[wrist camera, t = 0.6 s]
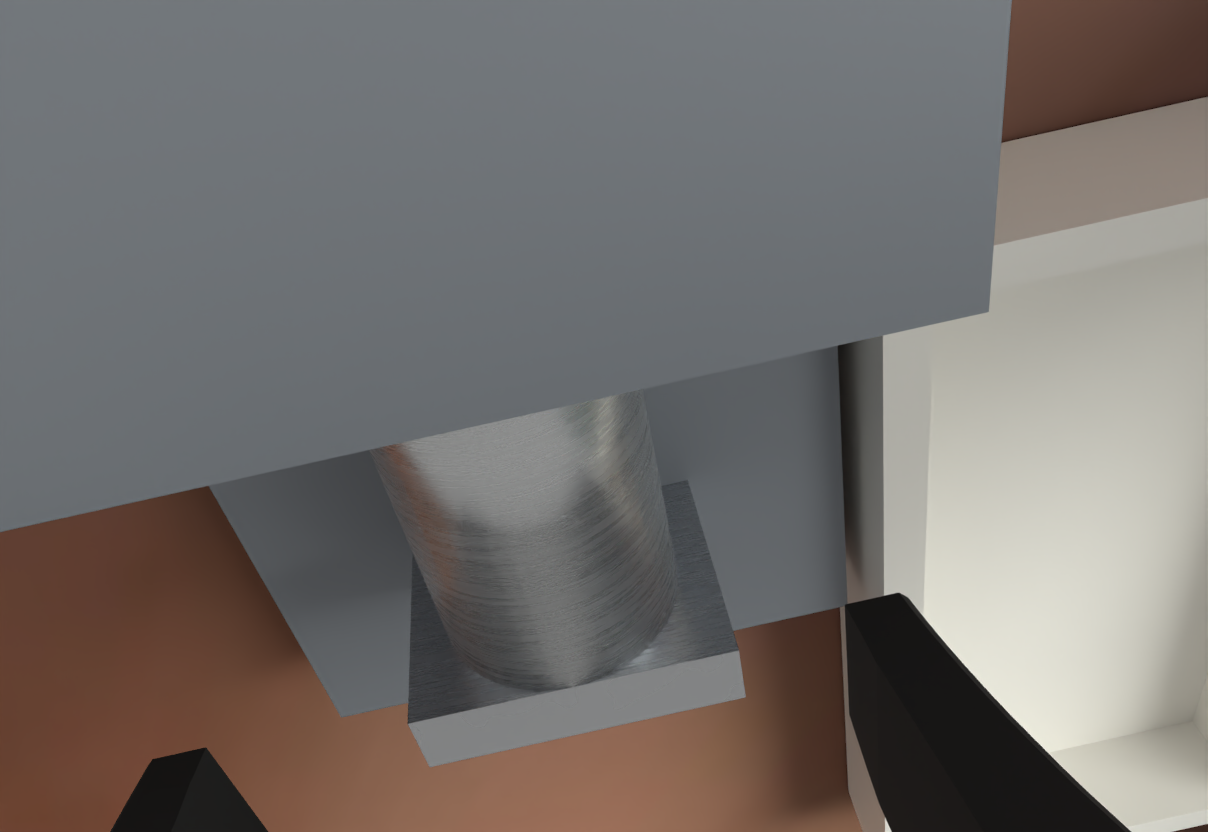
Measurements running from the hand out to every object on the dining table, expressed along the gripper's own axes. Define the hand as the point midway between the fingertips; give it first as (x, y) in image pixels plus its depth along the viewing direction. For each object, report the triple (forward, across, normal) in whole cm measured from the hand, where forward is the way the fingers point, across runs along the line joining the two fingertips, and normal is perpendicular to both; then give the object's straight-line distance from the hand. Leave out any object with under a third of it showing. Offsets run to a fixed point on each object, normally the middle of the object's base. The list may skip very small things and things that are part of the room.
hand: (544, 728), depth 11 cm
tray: (+9, -11, +8) cm, 17 cm away
